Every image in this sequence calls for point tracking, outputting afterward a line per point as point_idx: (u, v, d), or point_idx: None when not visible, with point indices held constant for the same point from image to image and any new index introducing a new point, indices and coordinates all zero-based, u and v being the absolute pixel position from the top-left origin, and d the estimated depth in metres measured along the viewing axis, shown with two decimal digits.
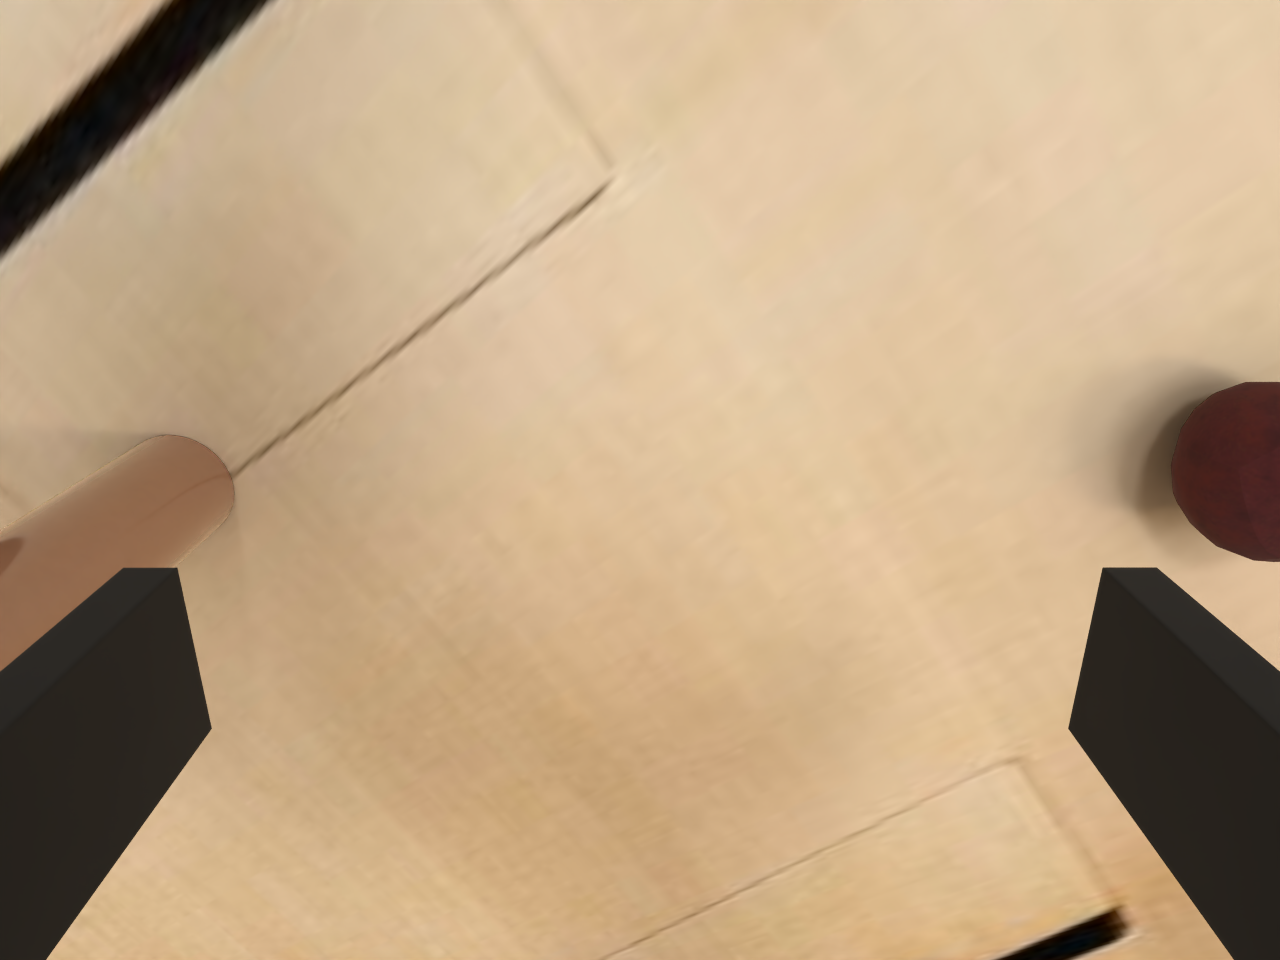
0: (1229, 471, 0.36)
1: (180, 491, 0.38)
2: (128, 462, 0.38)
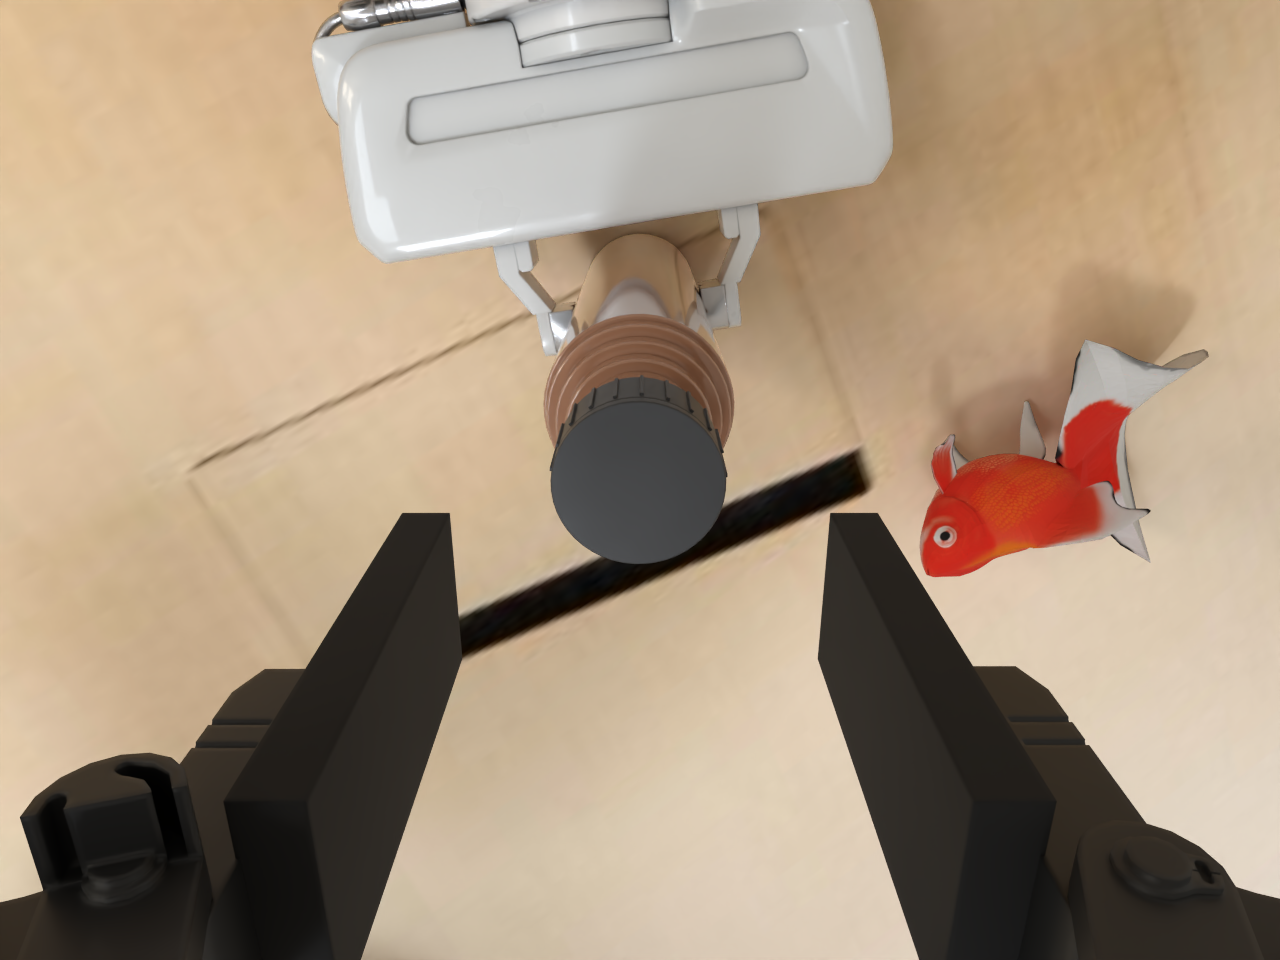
0: None
1: None
2: None
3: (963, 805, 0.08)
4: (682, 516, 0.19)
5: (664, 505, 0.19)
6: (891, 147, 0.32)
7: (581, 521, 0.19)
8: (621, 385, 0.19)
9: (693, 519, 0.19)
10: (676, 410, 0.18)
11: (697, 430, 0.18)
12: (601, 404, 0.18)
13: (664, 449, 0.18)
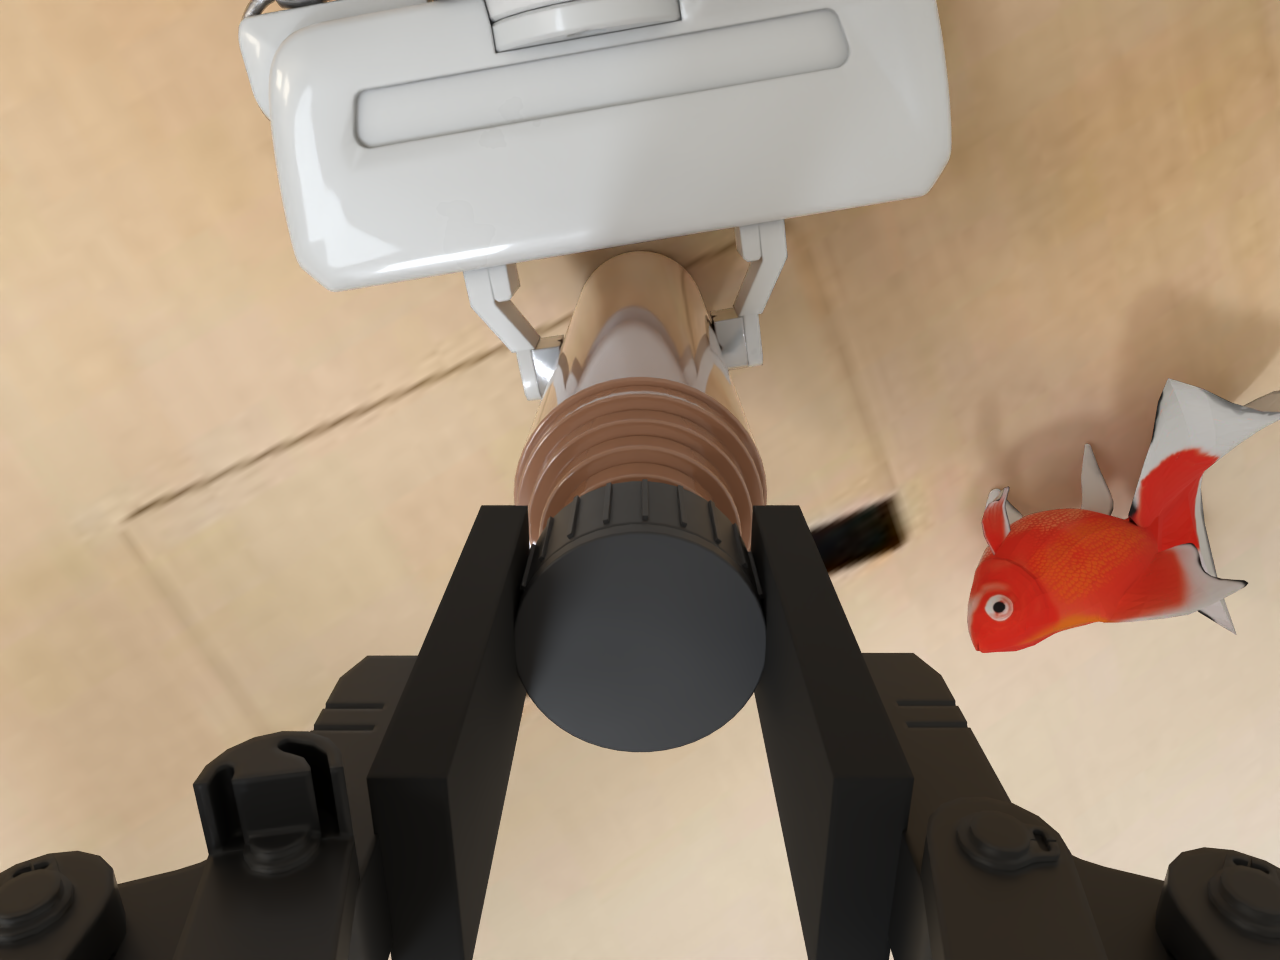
0: None
1: None
2: None
3: (828, 782, 0.09)
4: (704, 689, 0.13)
5: (677, 675, 0.13)
6: (949, 151, 0.26)
7: (557, 696, 0.13)
8: (615, 497, 0.13)
9: (719, 693, 0.13)
10: (696, 544, 0.12)
11: (727, 573, 0.12)
12: (585, 532, 0.13)
13: (678, 600, 0.13)
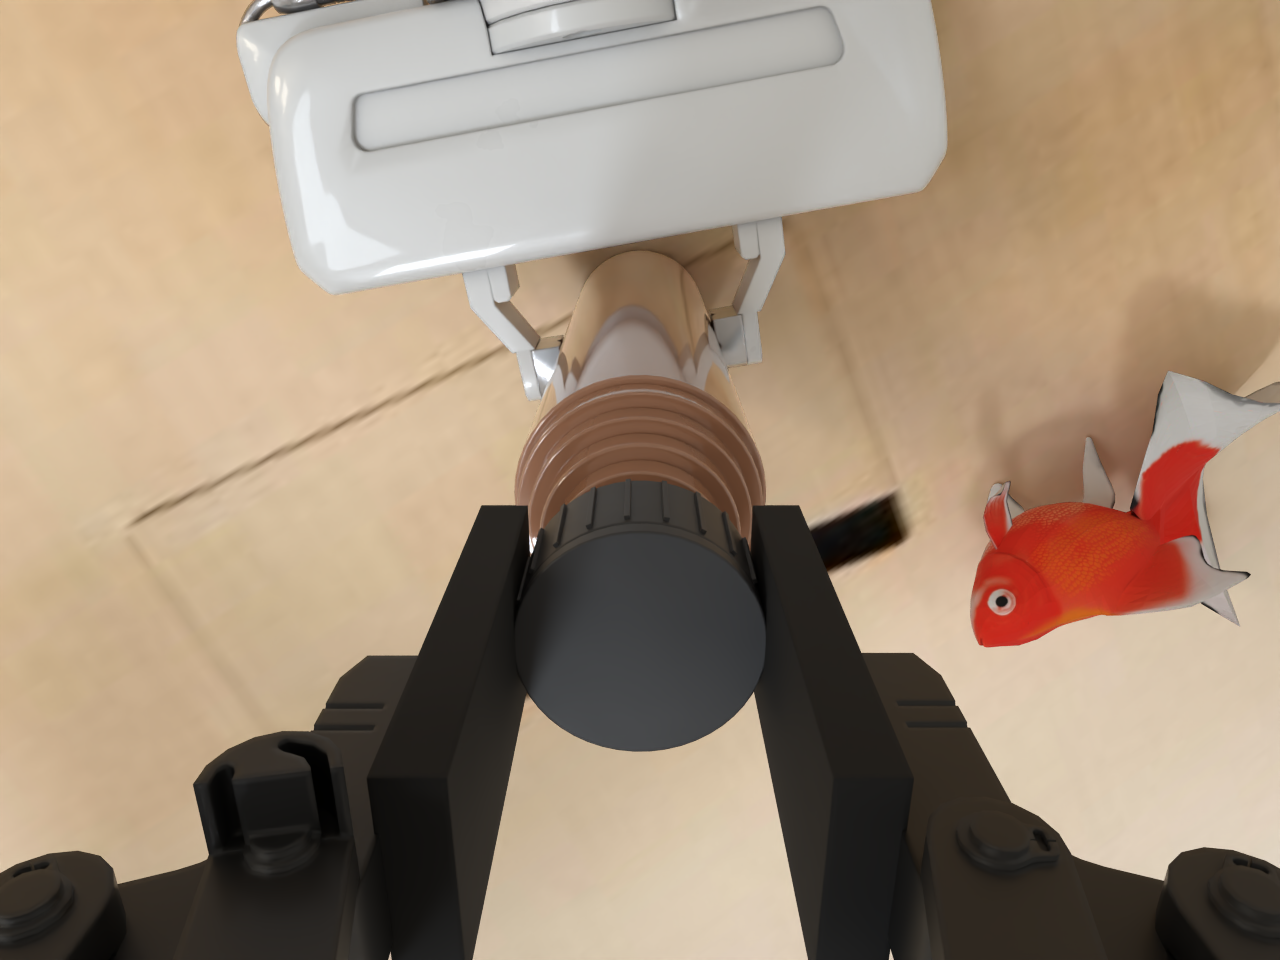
0: None
1: None
2: None
3: (828, 782, 0.09)
4: (638, 575, 0.12)
5: (641, 604, 0.13)
6: (945, 146, 0.26)
7: (735, 676, 0.13)
8: None
9: (632, 560, 0.12)
10: (518, 670, 0.13)
11: (520, 637, 0.13)
12: None
13: (573, 651, 0.13)
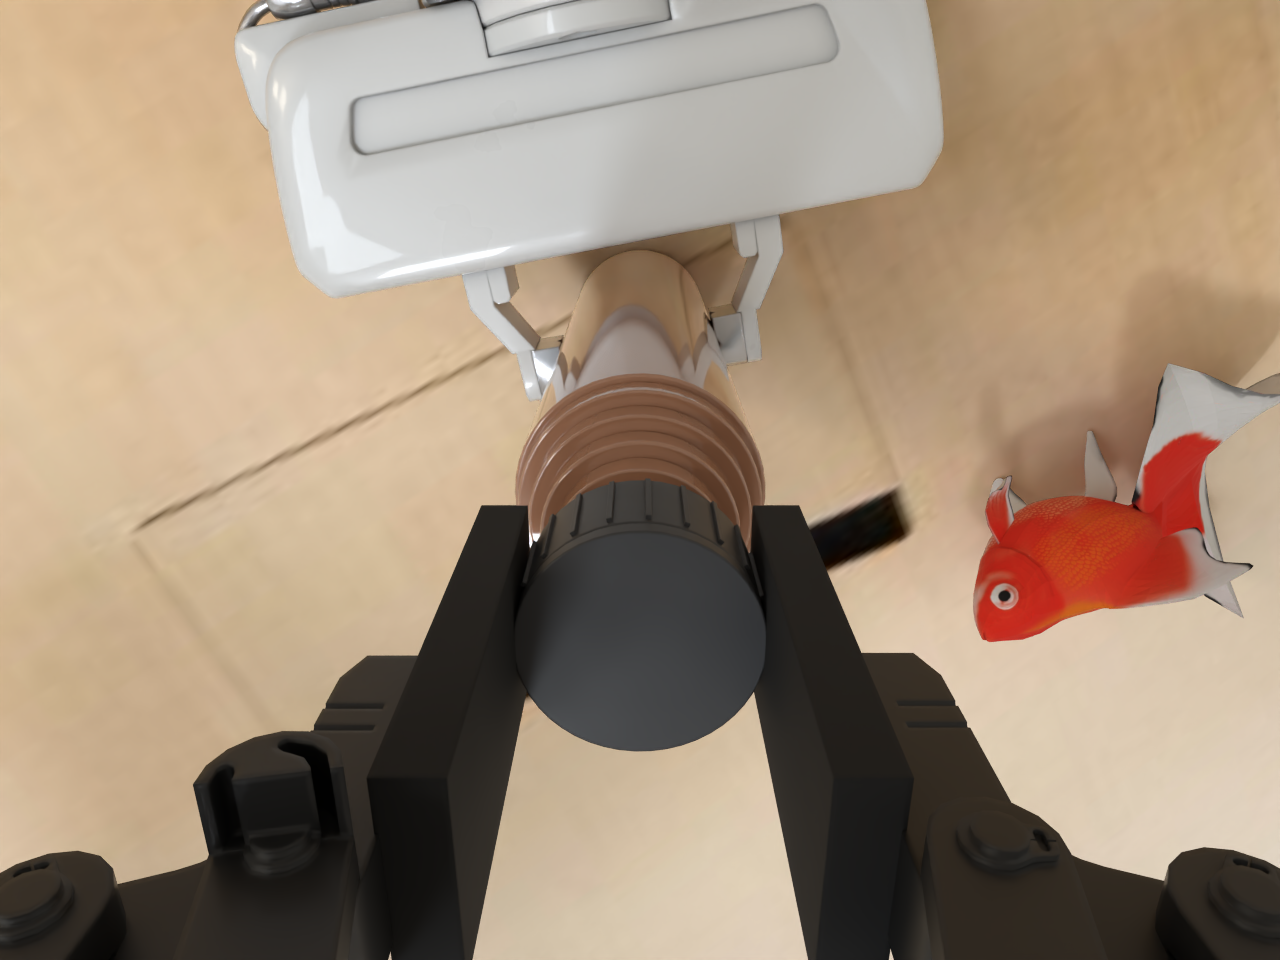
0: None
1: None
2: None
3: (829, 782, 0.09)
4: (578, 691, 0.13)
5: (601, 672, 0.13)
6: (942, 142, 0.26)
7: (605, 562, 0.12)
8: None
9: (570, 703, 0.13)
10: (734, 713, 0.13)
11: (700, 733, 0.13)
12: None
13: (683, 690, 0.13)
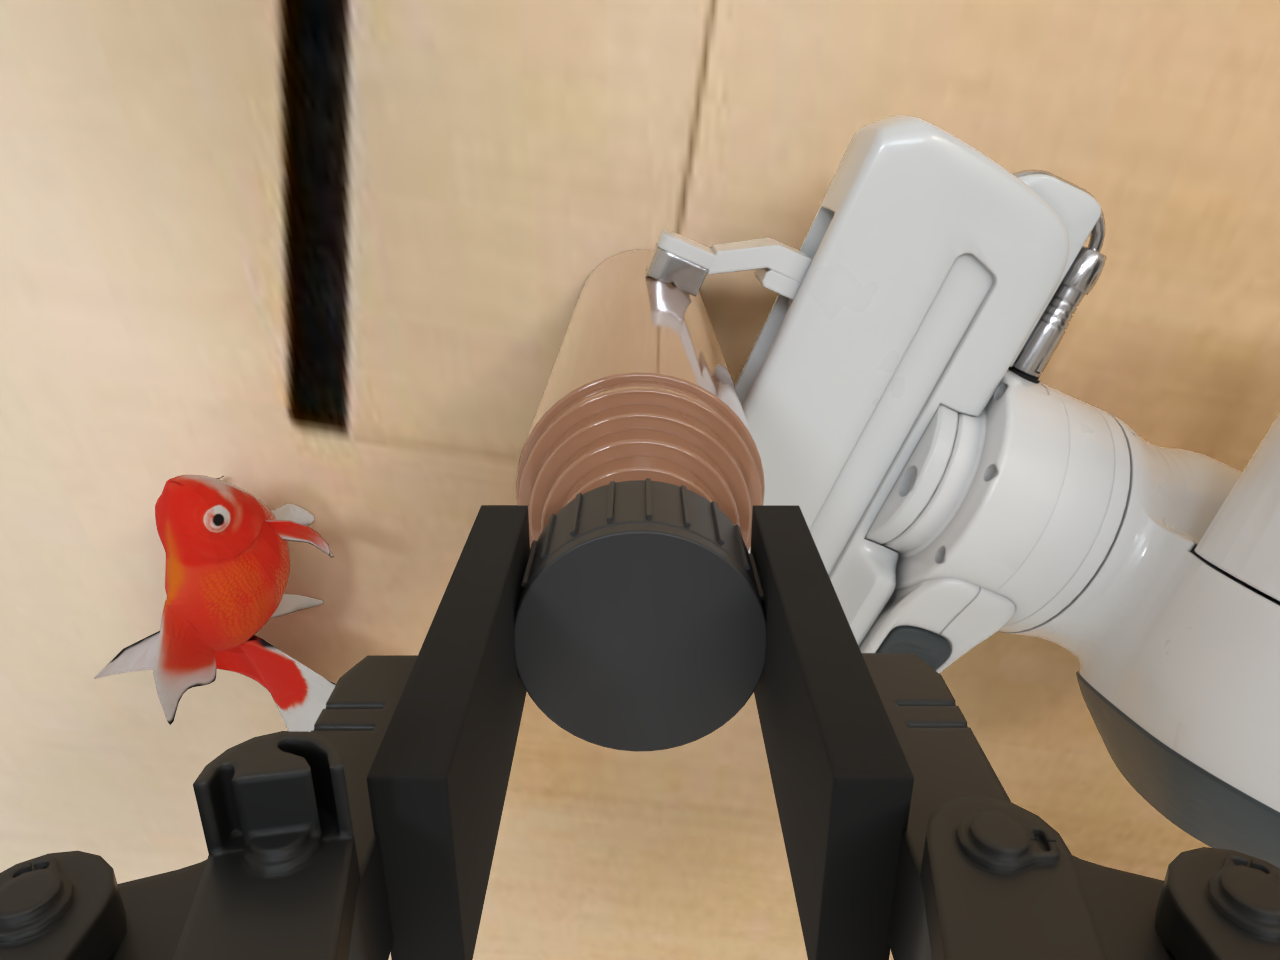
0: None
1: None
2: (590, 283, 0.32)
3: (828, 782, 0.09)
4: (578, 690, 0.13)
5: (601, 672, 0.13)
6: None
7: (605, 562, 0.12)
8: None
9: (570, 702, 0.13)
10: (734, 713, 0.13)
11: (699, 733, 0.13)
12: None
13: (683, 690, 0.13)
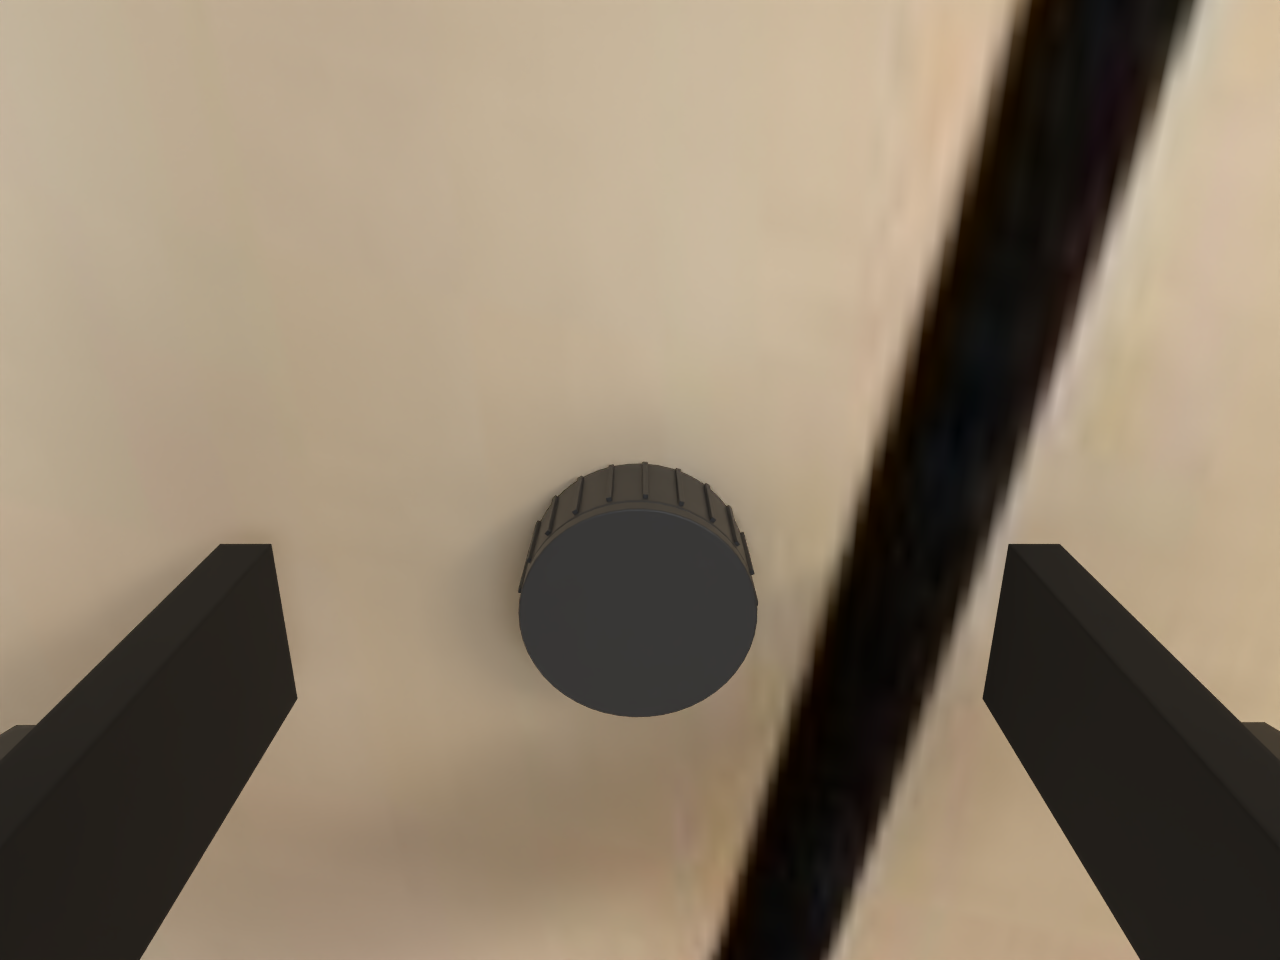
0: None
1: None
2: None
3: None
4: (580, 659, 0.14)
5: (601, 642, 0.14)
6: None
7: (605, 538, 0.13)
8: None
9: (572, 671, 0.14)
10: (725, 681, 0.14)
11: (694, 699, 0.14)
12: None
13: (678, 659, 0.14)
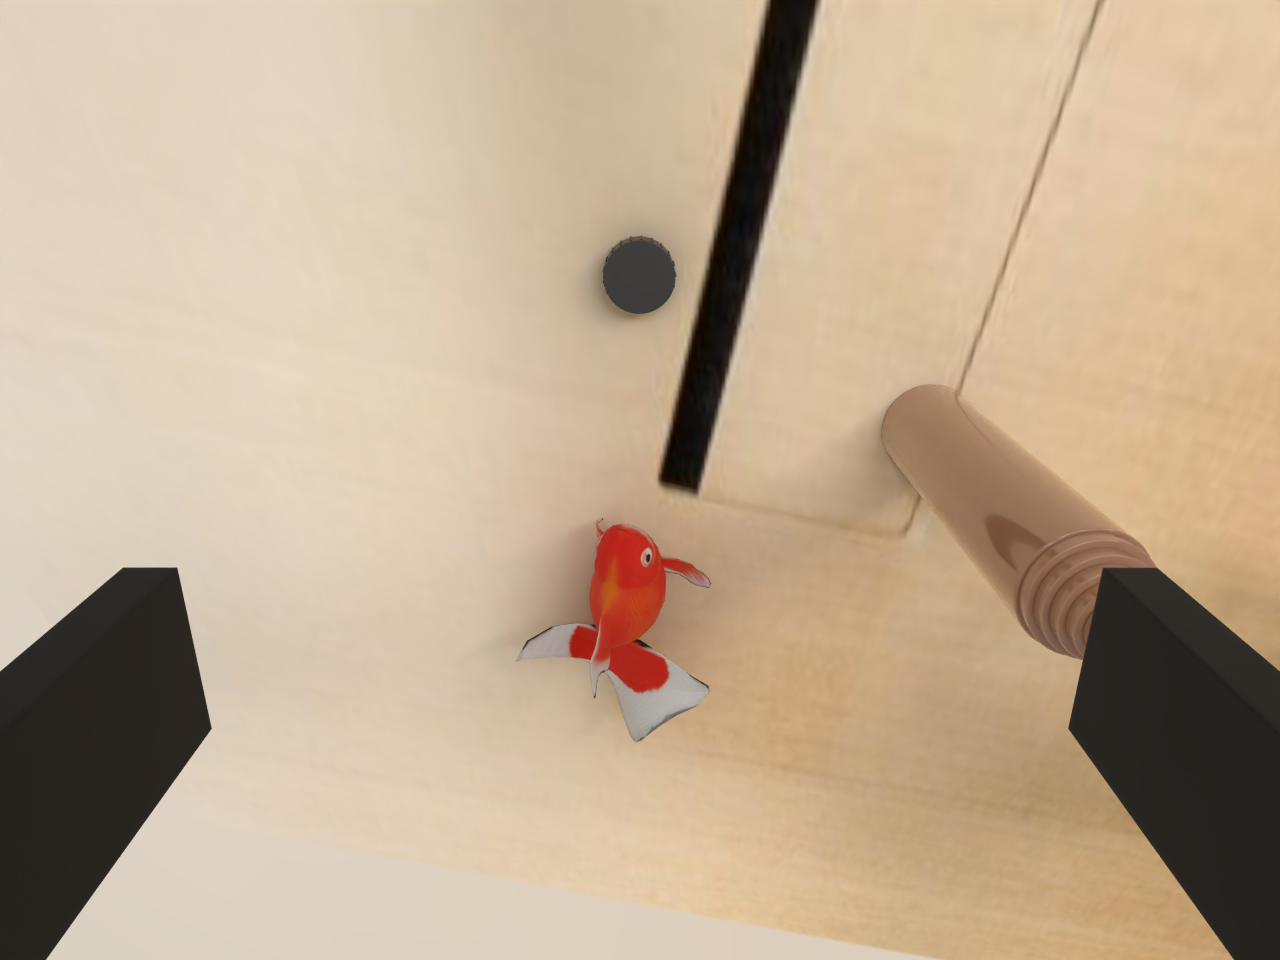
0: None
1: (969, 406, 0.46)
2: (921, 414, 0.47)
3: None
4: (621, 292, 0.46)
5: (628, 286, 0.46)
6: None
7: (629, 250, 0.45)
8: None
9: (619, 296, 0.46)
10: (666, 300, 0.46)
11: (656, 306, 0.46)
12: (674, 270, 0.46)
13: (651, 292, 0.46)
